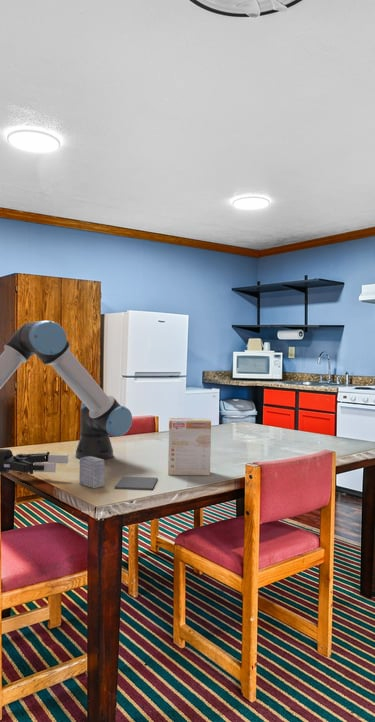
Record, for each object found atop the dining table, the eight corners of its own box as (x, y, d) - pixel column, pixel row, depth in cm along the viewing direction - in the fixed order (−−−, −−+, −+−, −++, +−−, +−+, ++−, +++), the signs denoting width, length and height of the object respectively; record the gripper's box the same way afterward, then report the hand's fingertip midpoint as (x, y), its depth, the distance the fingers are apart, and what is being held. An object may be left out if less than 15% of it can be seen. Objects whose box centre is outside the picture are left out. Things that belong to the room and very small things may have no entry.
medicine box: (104, 486, 168) (105, 459, 168) (92, 489, 165) (93, 461, 165) (90, 482, 174) (91, 455, 174) (78, 484, 171) (79, 457, 170)
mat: (122, 478, 180) (122, 476, 180) (157, 479, 179) (157, 477, 179) (114, 488, 166) (114, 486, 166) (152, 490, 165) (152, 488, 165)
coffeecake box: (208, 471, 193) (210, 418, 193) (210, 476, 186) (211, 420, 186) (167, 470, 193) (169, 417, 193) (167, 475, 186) (169, 420, 185)
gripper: (12, 464, 183) (72, 467, 182) (-21, 481, 158) (49, 484, 157) (12, 442, 183) (72, 445, 182) (-20, 456, 158) (49, 459, 157)
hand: (61, 463), depth 170 cm, fingers open, 13 cm apart
